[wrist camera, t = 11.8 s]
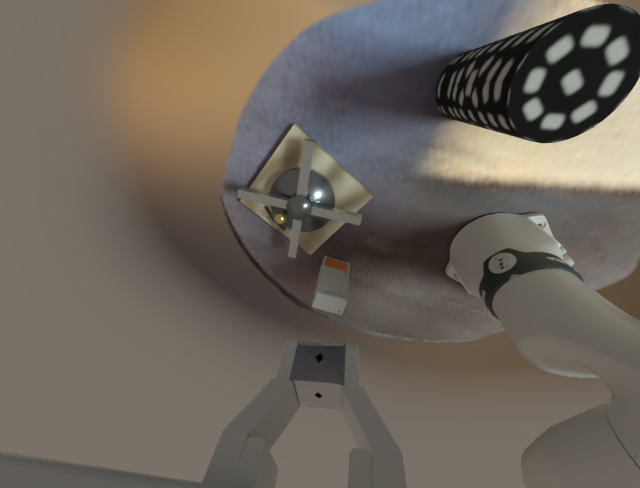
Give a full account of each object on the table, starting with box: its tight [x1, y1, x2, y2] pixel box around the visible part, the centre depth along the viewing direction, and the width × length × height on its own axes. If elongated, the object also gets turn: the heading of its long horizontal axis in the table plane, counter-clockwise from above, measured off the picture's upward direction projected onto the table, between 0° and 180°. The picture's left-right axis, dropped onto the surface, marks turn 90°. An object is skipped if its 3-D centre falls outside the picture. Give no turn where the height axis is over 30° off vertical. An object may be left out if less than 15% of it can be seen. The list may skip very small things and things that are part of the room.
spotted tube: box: [436, 4, 640, 143], centre depth 26 cm, size 8×8×20 cm
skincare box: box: [312, 255, 350, 315], centre depth 49 cm, size 6×4×12 cm
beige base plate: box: [240, 124, 373, 255], centre depth 46 cm, size 18×18×1 cm
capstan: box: [238, 139, 362, 258], centre depth 43 cm, size 17×17×4 cm
